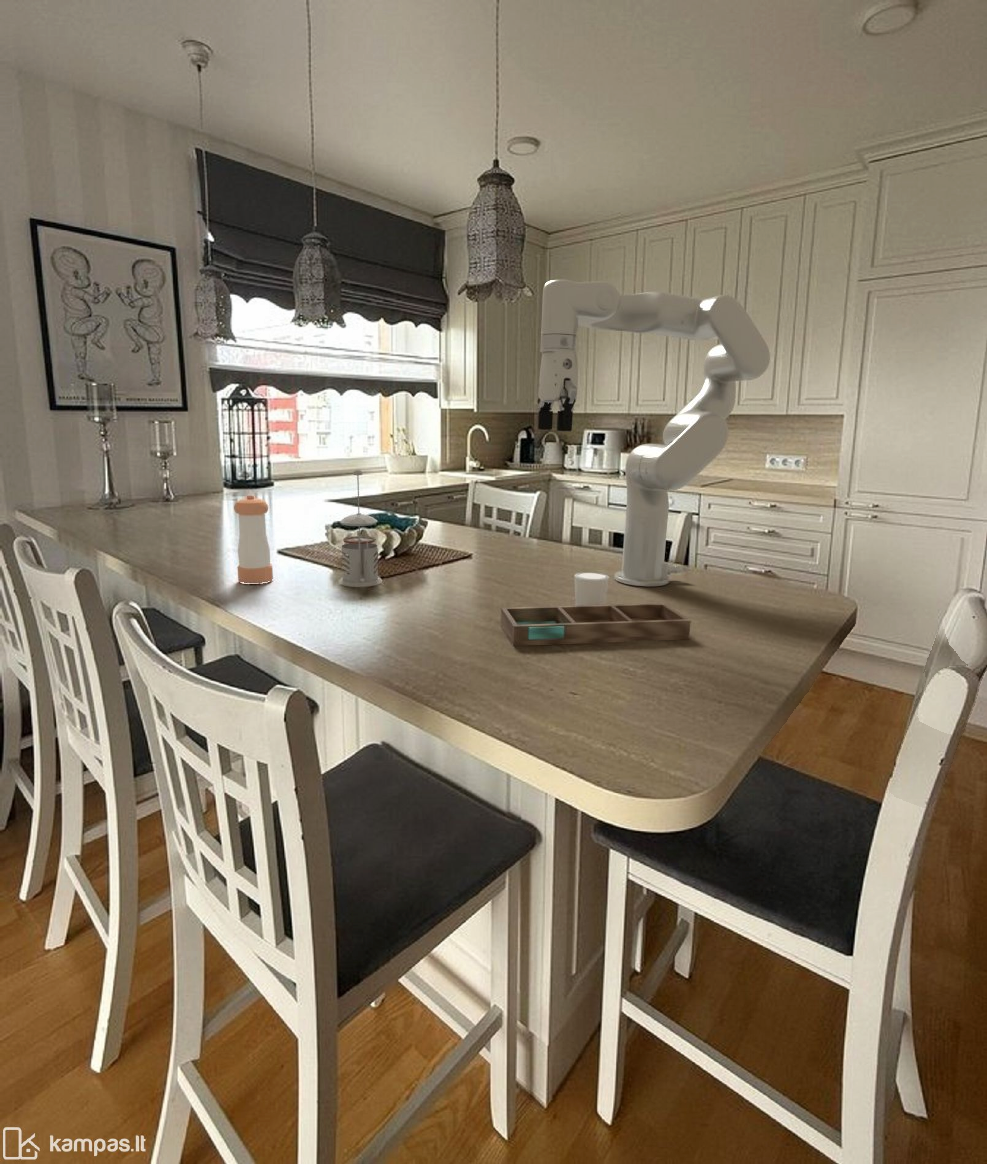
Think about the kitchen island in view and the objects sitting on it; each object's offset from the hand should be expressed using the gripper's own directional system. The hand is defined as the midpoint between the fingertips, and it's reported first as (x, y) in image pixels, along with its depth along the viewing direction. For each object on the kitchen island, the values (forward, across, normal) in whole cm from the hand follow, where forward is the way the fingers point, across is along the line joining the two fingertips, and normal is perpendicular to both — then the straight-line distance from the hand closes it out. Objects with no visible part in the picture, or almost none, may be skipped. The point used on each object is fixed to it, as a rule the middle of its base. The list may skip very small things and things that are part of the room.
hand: (554, 430), depth 143 cm
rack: (+34, -33, +5) cm, 48 cm away
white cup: (+34, -20, -1) cm, 40 cm away
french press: (+35, +14, +39) cm, 54 cm away
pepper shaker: (+35, +20, +62) cm, 74 cm away
